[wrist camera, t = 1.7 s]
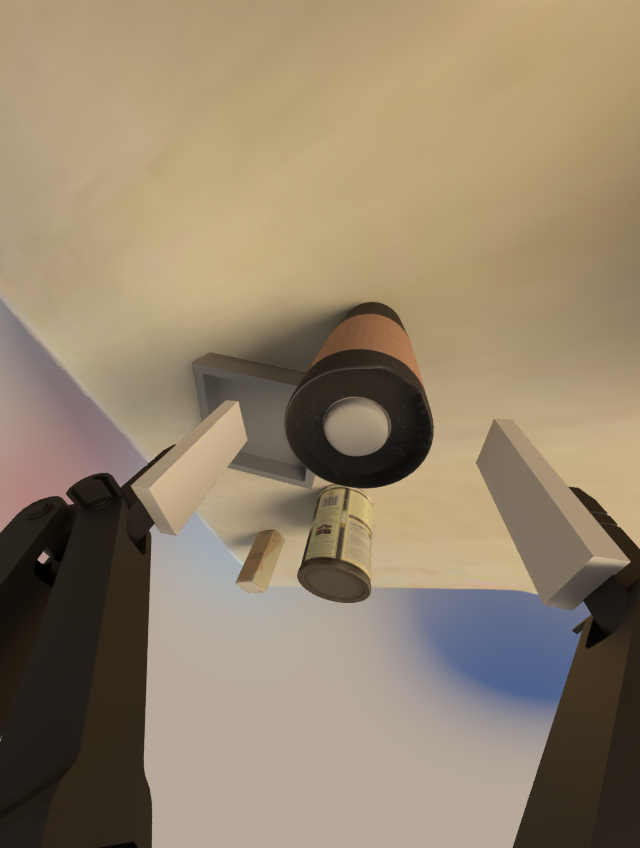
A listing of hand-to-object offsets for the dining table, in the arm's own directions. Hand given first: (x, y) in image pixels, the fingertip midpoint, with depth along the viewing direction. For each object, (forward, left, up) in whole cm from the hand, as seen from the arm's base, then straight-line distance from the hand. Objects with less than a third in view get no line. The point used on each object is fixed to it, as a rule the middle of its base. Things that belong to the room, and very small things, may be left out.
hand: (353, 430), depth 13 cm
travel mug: (0, 0, -19) cm, 19 cm away
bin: (+15, -12, -19) cm, 27 cm away
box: (+48, -11, -19) cm, 53 cm away
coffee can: (+30, +3, -19) cm, 36 cm away
